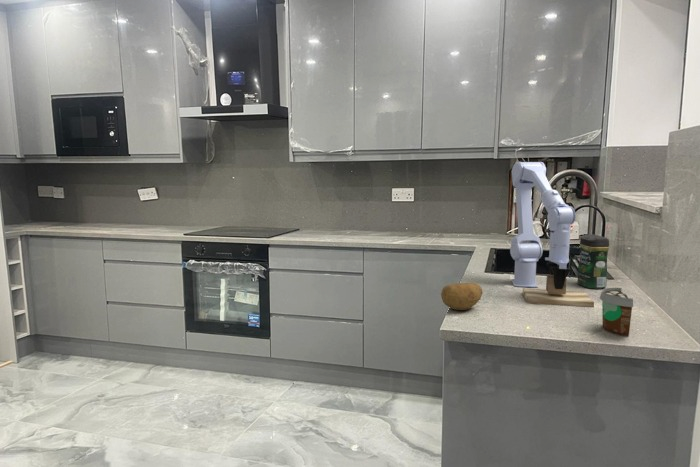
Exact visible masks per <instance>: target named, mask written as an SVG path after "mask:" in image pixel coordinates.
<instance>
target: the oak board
mask: <svg viewBox="0 0 700 467" xmlns="http://www.w3.org/2000/svg"><path fill="white" fill-rule="evenodd" d="M522 294H523V297H524V299H525V300H526V302H527V304H534V305H535V304H536V305H537V304H538V305H551V306H552V305H554V306H555V305H556V306H567V307H568V306H569V307H570V306H571V307H584V308H585V307H587V308H594V307H595V302H594V300H592V298H591V297H589V295H587V293H586V292H585V291H581V290H579V291H578V290H566V295H565V294H549V293H548V292H547V290H546V289H541V288H526V287H522Z"/></svg>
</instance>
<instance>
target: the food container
mask: <svg viewBox="0 0 700 467" xmlns="http://www.w3.org/2000/svg"><path fill="white" fill-rule="evenodd" d="M599 299H600V300H601V302H602V305H601V307H602V308H601V310H602V312H601V313H602V319H601V320H602V329H603V330H604V332H607V333H610V334H613V335H617V336H624V337H630V328H631V321H632V320H631V319H632V313H633V312H632V310H633V307H634V298H629V297H628V295H627V294H626V293H623V292H622V287H605V288H602V291H601V292H600V294H599Z"/></svg>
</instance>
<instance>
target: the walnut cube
mask: <svg viewBox="0 0 700 467" xmlns="http://www.w3.org/2000/svg"><path fill="white" fill-rule="evenodd" d="M545 282H546V285H545V290H547V292H548V293H549V294H565V295H566V291H567V278H566V280H565V283H564V286H563V289H555V286H554V277H553V275H550V274H546V281H545Z"/></svg>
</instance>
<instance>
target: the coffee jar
mask: <svg viewBox="0 0 700 467" xmlns="http://www.w3.org/2000/svg"><path fill="white" fill-rule="evenodd" d="M579 240H580V241H579V252H580V253H579V264H578V272H577V284H578V285H580V286H582V287H584V288H587V289H594V290H601V289H602V290H603V289H606V288H607V282H608V281H607V277H608V273H607V272H608V270H607V269H608V253H609V250H610V239H609V238H607V237H606V236H601V235H597V234H594V233H593V234H582V236H580V239H579Z"/></svg>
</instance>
